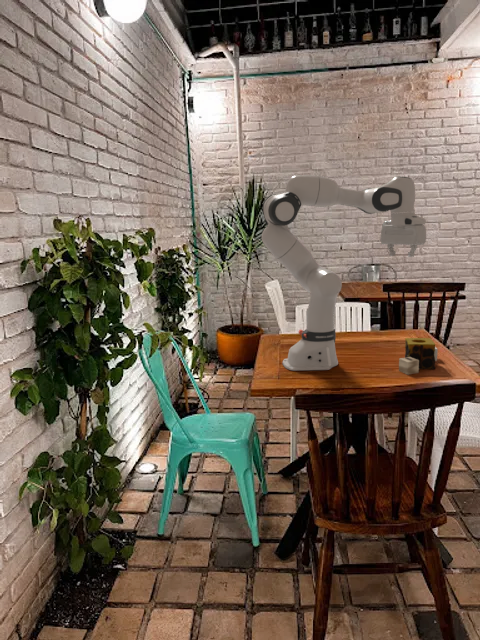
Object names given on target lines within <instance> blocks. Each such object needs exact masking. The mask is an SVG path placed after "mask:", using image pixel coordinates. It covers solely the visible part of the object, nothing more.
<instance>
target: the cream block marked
mask: <svg viewBox="0 0 480 640" xmlns="http://www.w3.org/2000/svg"><path fill="white" fill-rule="evenodd" d="M434 353H435V354H434V356H435V362H437V361H438V353H439V351H438V348H437V347H436V346H435V352H434Z"/></svg>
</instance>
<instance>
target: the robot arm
mask: <svg viewBox="0 0 480 640" xmlns="http://www.w3.org/2000/svg"><path fill="white" fill-rule="evenodd" d="M415 186H416V185H415V181H414V180H413V179H412V177H408V176H394V177H393V178H392V179H391V180H390V181H388V182H386V183H384V184H383V185H380V186H377V187H368V188H366V189H362V190H355V189H348V188H343V187H340V186H339V184H338V183H337V182H336V181H335V179H331V178H329V177H325V176H321V175H313V174H303V175H302V174H299V175H293V176H291V177H290V178H288V181H287V183H286V185H285V190H284V191H283V192H282V193H277V194H271V195H269V196H267V197H266V198H265V199H264V201H263V203H262V215H263V219H264V222H265V224H266V225H267V226H266V227H265V228H264V229H263V231H262V232H261V241H262V243H263V244H264V246H265V247H266V249H267V250H268V251H269V253H270V254H271V255H272V256H273V257H274V258H275V259H276V260H277V261H278V262H279V263H280V265H282V266H283V267H284V268H285V269H286V270H287V271H288V272H289V273H290V275H292V276H293V278H294V280H296V281H297V283H298V284H299V285H300V286H301V287H302V289H303V290H305V291H306V292H307V293H310V295H309V297H310V298H309V302H308V306H307V308H306V311H305V312H306V316H305V318H306V319H305V321H306V322H305V324H306V329H305V330H303V329H298V334H299V336H301V339H300V340H299V341H297V342H296V343H295V344H294V345H292V346H291V347H290V348H289V349H288V354H287V358H284V359H283V360H282V366H283V367H284V368H285V369H286V370H290V371H328V370H331V369H332V368H334V367H336V366H338V364H339V361H338V360H339V359H338V357H337V352H336V344H335V343H336V340H337V339H336V337H337V335H336V329H335V309H336V303H337V299H338V295H339V293H340V292H341V290H342V288H343V287H342V286H343V284H342V283H343V282H342V278H340V276H339V275H338V274H337V273H336V272H335V271H333V270H331V269H327V268H325V267H323V266H321V265H320V264H319V263H318V262H317V260H316V259H315V258H314V256H313V254H312V252H311V251H310V250H309V249H308V247H307V246H305V245H304V244H303V242H301V241H300V239H298V238H297V237H296V235H294V233H292V231H291V230H290V229H289V225H290V224H292V223H293V222H294V221H295V219H296V217H297V215H298V213H299V211H300V209H301V208H302V206H307V207H315V208H326V207H333V206H336V205H338V206H346V207H352V208H356V209H359V210H360V211H362V212H363V213H365V214H368V215H369V214H370V215H372V214H381V213H386V212H387V213H388V212H389V211H390V220H385V221H384V222H383V223H382V226H381V230H380V244H381V245H387V249H388V252H389V256H390V257H395V256H396V255H397V254H396V250H395V249H394V247H395V245H397V246H399V245H405V246H409V247H410V250H409V252H407V257H408V258H413V257H415V252H416V250H417V248H418V246H422V245H425V244H426V242H427V229H426V226H425V225H426V221H427V220H426V219H425V218H424V217H421V216H419V215H416V214H415V213H416V210H415V207H414V206H415V201H416V187H415Z"/></svg>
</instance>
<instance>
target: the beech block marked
mask: <svg viewBox="0 0 480 640" xmlns="http://www.w3.org/2000/svg"><path fill="white" fill-rule="evenodd" d="M419 370H420V369H419V360H417V359H415V358H412V357H406V358H405V357H400V358H399V359H398V372H400V373H402V374H405V375H407V376H409V375H412V374H419V372H420V371H419Z"/></svg>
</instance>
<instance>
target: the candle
mask: <svg viewBox="0 0 480 640" xmlns="http://www.w3.org/2000/svg"><path fill="white" fill-rule="evenodd" d="M404 342H405V343H404V346H405V347H404V348H405V349H404V351H405V353H404V358H406V357H412V358H415V359H417V360H419V370H435V369H436V361H435V356H434V354H435V353H434V352H435V347H436V343H435V342H434V341H433V339H432V338H430V337H428V338H426V337H406V338H404Z"/></svg>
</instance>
